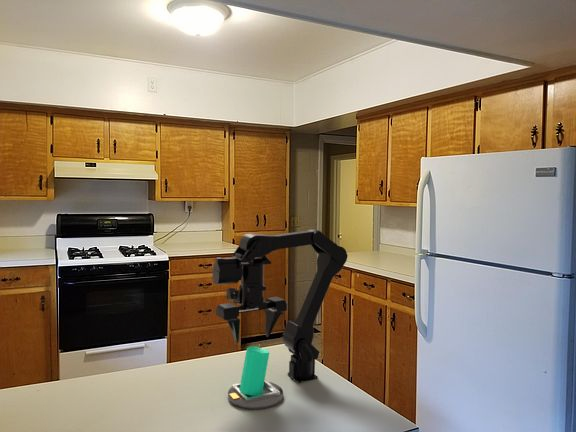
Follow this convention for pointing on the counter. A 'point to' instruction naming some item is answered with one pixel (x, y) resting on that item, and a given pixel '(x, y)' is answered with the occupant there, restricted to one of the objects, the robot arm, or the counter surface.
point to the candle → (254, 371)
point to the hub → (256, 397)
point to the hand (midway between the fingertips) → (252, 339)
